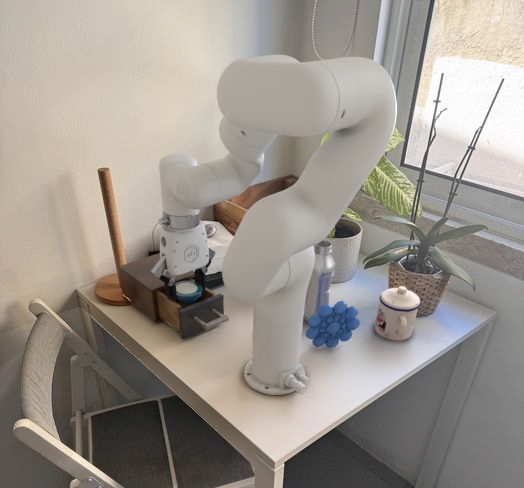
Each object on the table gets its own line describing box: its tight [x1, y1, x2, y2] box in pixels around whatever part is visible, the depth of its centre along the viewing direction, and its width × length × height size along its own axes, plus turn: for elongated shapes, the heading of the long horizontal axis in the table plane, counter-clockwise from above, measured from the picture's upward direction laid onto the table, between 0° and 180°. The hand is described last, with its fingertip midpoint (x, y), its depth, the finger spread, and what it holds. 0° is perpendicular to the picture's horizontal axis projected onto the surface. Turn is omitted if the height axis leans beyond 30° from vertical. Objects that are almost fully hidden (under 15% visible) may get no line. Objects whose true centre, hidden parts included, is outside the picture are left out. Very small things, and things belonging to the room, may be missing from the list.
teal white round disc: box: [175, 281, 203, 304], centre depth 116 cm, size 7×7×3 cm
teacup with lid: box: [374, 285, 421, 342], centre depth 116 cm, size 12×9×12 cm
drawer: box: [155, 278, 230, 341], centre depth 117 cm, size 19×11×7 cm, turn 42°
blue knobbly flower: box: [305, 300, 361, 349], centre depth 112 cm, size 12×7×12 cm, turn 93°
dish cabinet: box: [118, 252, 195, 324], centre depth 125 cm, size 15×13×9 cm
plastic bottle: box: [303, 239, 336, 323], centre depth 117 cm, size 6×7×20 cm
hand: (186, 292), depth 116 cm, fingers closed on teal white round disc, 7 cm apart
